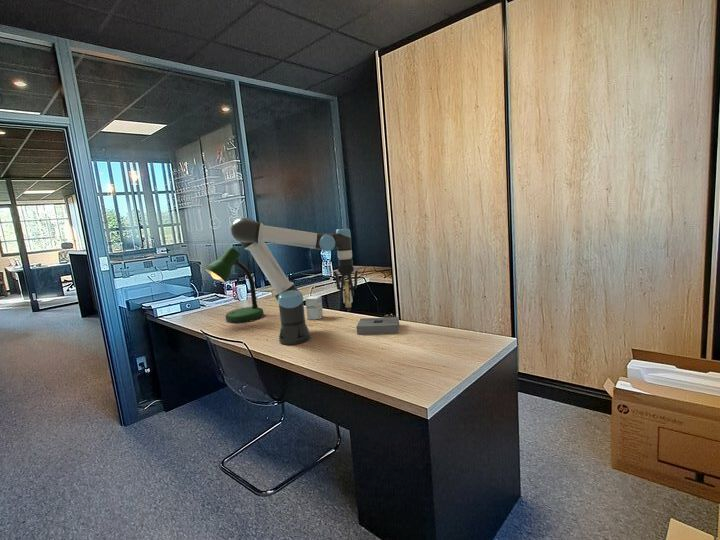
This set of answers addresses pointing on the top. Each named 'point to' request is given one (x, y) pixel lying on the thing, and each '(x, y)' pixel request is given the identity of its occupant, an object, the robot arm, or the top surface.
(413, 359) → the top surface
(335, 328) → the top surface
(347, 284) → the brass pin
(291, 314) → the robot arm
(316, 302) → the supplement box
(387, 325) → the bore block
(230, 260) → the desk lamp
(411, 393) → the top surface
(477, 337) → the top surface
